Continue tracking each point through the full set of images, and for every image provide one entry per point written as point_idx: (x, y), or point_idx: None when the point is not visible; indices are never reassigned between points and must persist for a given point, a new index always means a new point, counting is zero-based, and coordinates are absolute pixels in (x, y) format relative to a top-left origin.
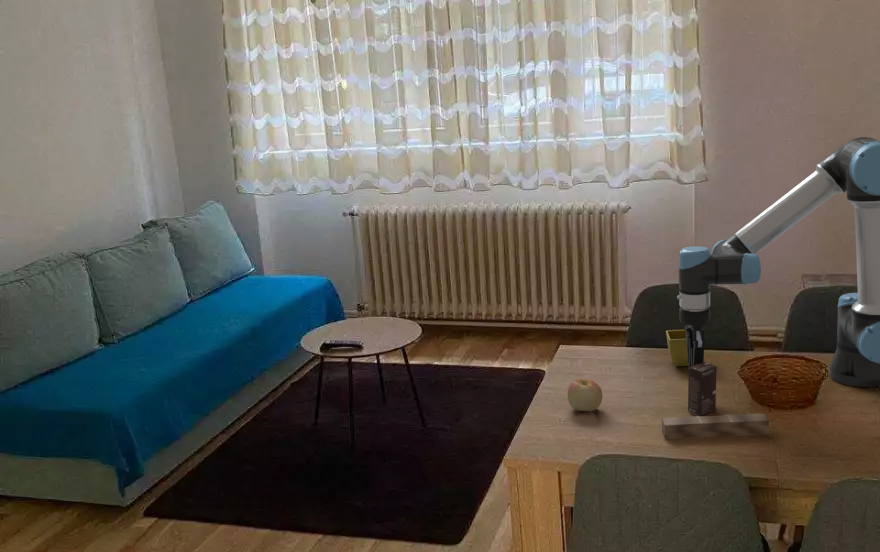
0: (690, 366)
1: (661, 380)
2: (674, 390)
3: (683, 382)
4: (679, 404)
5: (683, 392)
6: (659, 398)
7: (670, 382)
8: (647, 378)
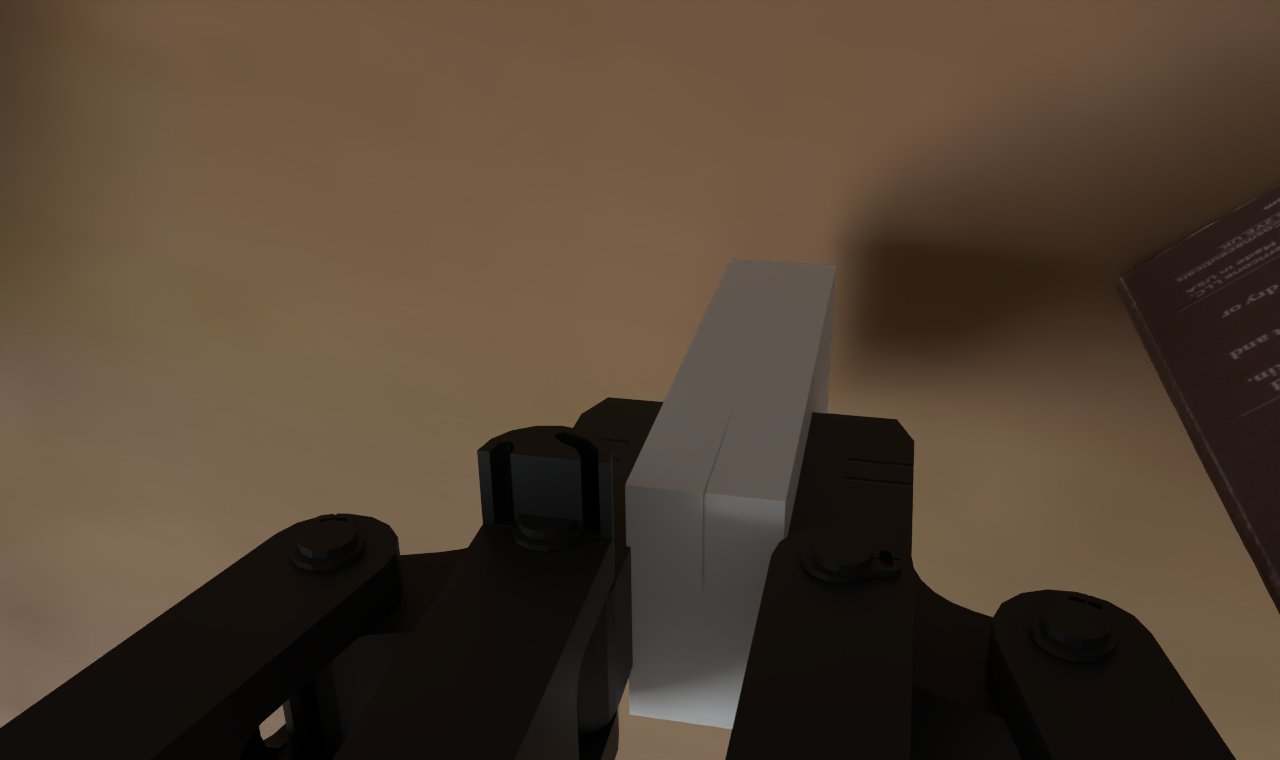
0: (613, 746)
1: (98, 560)
2: (440, 507)
3: (143, 312)
4: (973, 589)
5: (521, 414)
6: (704, 750)
7: (156, 476)
8: (51, 685)
